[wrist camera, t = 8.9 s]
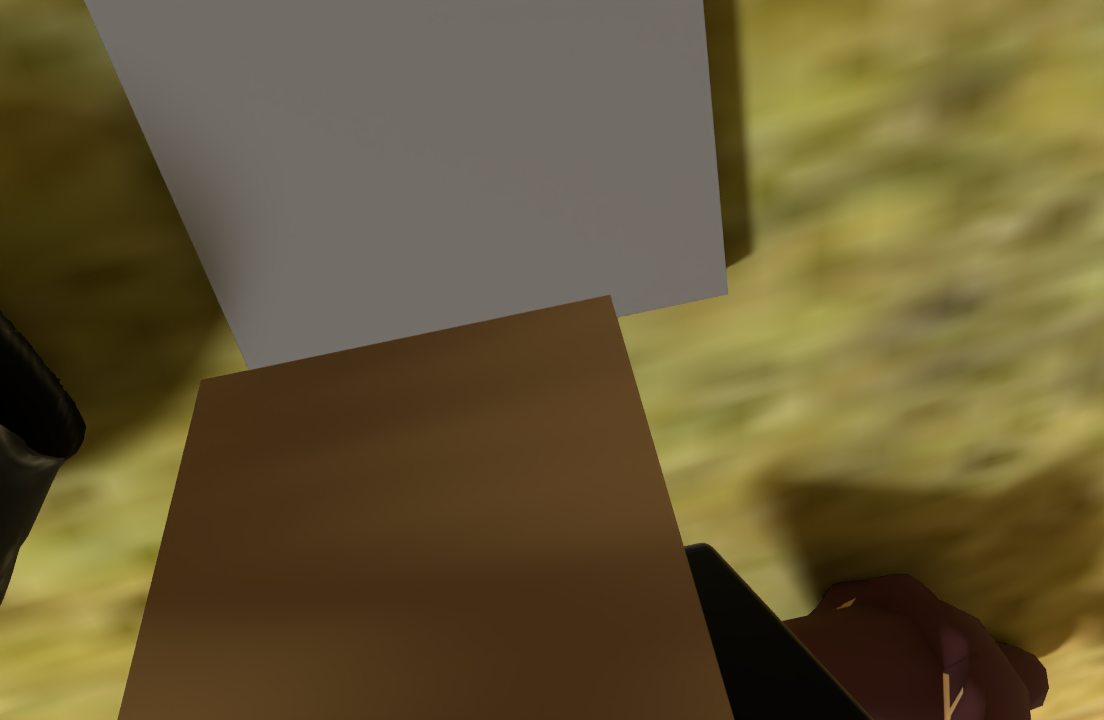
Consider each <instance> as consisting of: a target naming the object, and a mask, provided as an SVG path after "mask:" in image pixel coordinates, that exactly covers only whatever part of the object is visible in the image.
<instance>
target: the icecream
mask: <svg viewBox="0 0 1104 720" xmlns="http://www.w3.org/2000/svg"><path fill="white" fill-rule="evenodd" d="M782 622H783V623H784V624H785V625H786V626H787V627H788V628H789V630H790V631H791V632H792V633H793V634H794V635H795V636H796V637H797V638H798V639H799V640H800V641H801V642H802V644H803V645H804V646H805V647H806V648H807V649H808V650H809V651H810V652H811V653H812V654H813V655H814V656H815V657H816V659H817V660H818V661H819V662H820V663H821V664H822V665H823V666H824V667H825V668H826V669H827V670H828V671H829V673H830V674H831V675H832V676H833V677H834V678H835V679H836V680H837V681H838V682H839V683H840V684H841V685H842V686H843V688H844V689H845V690H846V691H847V692H848V693H849V694H850V695H851V696H852V697H853V698H854V699H855V700H856V702H857V703H858V704H859V705H860V706H861V707H862V708H863V709H864V710H865V711H866V712H867V713H868V714H869V715H870V717H871V718H872V719H873V720H1031V715H1030V710H1032V709H1035V708H1037V707H1040V706H1043V703H1044V700H1045V697H1046V695H1047V692H1048V689H1049V685H1048V679H1047V673H1046V669H1045V667H1044V666H1043V665H1042V664H1041V662H1040V661H1039V660H1038V659H1037V657H1036V656H1035V655H1034V654H1031V653H1029V652H1027V651H1024V650H1022V649H1019V648H1017V647H1014V646H1011V645H1007V644H1004V643H1000V642H997V641H996V642H995V641H994V640H993V638H992V637H991V635H990V634H989V633H988V631H987V630H986V629H985V627H984V626H983V624H982V623H981V622H980V620H979V619H978V618H976V617H974V616H972V615H970V614H968V613H966V612H964V611H962V610H960V609H958V608H956V607H954V606H951V605H949V604H947V603H945V602H943V601H941V600H939V599H938V598H937V597H936V596H935V595H934V594H933V593H932V592H931V591H930V590H929V589H928V588H927V587H926V586H925V585H924V584H923V583H921V582H920V581H918V580H916V579H915V578H913V577H911V576H910V575H908V574H891V575H886V576H882V577H877V578H872V579H867V580H860V581H851V582H843V583H836V584H833V585H832V586H831V587H830V589H829V590H828V592H827V593H826V595H825V596H824V597H823V599H822V600H821V601H820V603H819V604H818V606H817V607H816V608H815V609H814V610H813V611H812V612H811V613H810V615H808V616H803V617H799V618H794V619H790V620H785V621H782Z"/></svg>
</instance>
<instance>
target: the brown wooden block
mask: <svg viewBox="0 0 1104 720" xmlns="http://www.w3.org/2000/svg"><path fill="white" fill-rule="evenodd" d="M118 720H734V717H733V714H732V710H731V707H730V703H729V700H728V697H727V693H726V690H725V686H724V683H723V679H722V676H721V673H720V669H719V666H718V662H717V659H716V655H715V652H714V649H713V645H712V642H711V638H710V635H709V631H708V628H707V625H706V621H705V618H704V614H703V611H702V607H701V604H700V601H699V597H698V594H697V590H696V587H695V583H694V580H693V577H692V573H691V570H690V566H689V563H688V559H687V556H686V553H685V549H684V546H683V542H682V539H681V535H680V532H679V529H678V525H677V522H676V518H675V515H674V511H673V508H672V505H671V501H670V498H669V494H668V491H667V487H666V484H665V481H664V477H663V474H662V470H661V467H660V463H659V460H658V457H657V453H656V450H655V446H654V443H653V439H652V436H651V433H650V429H649V426H648V422H647V419H646V415H645V412H644V409H643V405H642V402H641V398H640V395H639V391H638V388H637V385H636V381H635V378H634V374H633V371H632V367H631V364H630V361H629V357H628V354H627V350H626V347H625V343H624V340H623V337H622V333H621V330H620V326H619V323H618V319H617V316H616V313H615V309H614V306H613V302H612V299H611V295H606V296H601V297H596V298H591V299H587V300H582V301H577V302H572V303H567V304H563V305H558V306H553V307H548V308H544V309H539V310H534V311H529V312H524V313H520V314H515V315H510V316H505V317H501V318H496V319H491V320H486V321H481V322H477V323H472V324H467V325H462V326H458V327H453V328H448V329H443V330H438V331H434V332H429V333H424V334H419V335H415V336H410V337H405V338H400V339H395V340H391V341H386V342H381V343H376V344H372V345H367V346H362V347H357V348H352V349H348V350H343V351H338V352H333V353H328V354H324V355H319V356H314V357H309V358H305V359H300V360H295V361H290V362H285V363H281V364H276V365H271V366H266V367H262V368H257V369H252V370H247V371H242V372H238V373H233V374H228V375H223V376H219V377H214V378H209V379H204V380H201V383H200V387H199V391H198V395H197V399H196V403H195V407H194V412H193V416H192V420H191V424H190V428H189V432H188V436H187V440H186V444H185V448H184V452H183V456H182V460H181V464H180V468H179V472H178V476H177V481H176V485H175V489H174V493H173V497H172V501H171V505H170V509H169V513H168V517H167V521H166V525H165V529H164V533H163V537H162V541H161V545H160V550H159V554H158V558H157V562H156V566H155V570H154V574H153V578H152V582H151V586H150V590H149V594H148V598H147V602H146V606H145V610H144V614H143V619H142V623H141V627H140V631H139V635H138V639H137V643H136V647H135V651H134V655H133V659H132V663H131V667H130V671H129V675H128V679H127V683H126V688H125V692H124V696H123V700H122V704H121V708H120V712H119V716H118Z"/></svg>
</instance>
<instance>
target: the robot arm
mask: <svg viewBox="0 0 1104 720" xmlns="http://www.w3.org/2000/svg"><path fill="white" fill-rule="evenodd" d="M684 549H685V553H686V556H687V559H688V563H689V566H690V570H691V573H692V577H693V580H694V583H695V587H696V590H697V594H698V597H699V601H700V604H701V607H702V611H703V614H704V618H705V621H706V625H707V628H708V631H709V635H710V638H711V642H712V645H713V649H714V652H715V655H716V659H717V662H718V666H719V669H720V673H721V676H722V679H723V683H724V686H725V690H726V693H727V697H728V700H729V703H730V707H731V710H732V714H733V717H734V720H873V719H872V718H871V717H870V715H869V714H868V713H867V712H866V711H865V710H864V709H863V708H862V707H861V706H860V705H859V704H858V703H857V702H856V700H855V699H854V698H853V697H852V696H851V695H850V694H849V693H848V692H847V691H846V690H845V689H844V688H843V686H842V685H841V684H840V683H839V682H838V681H837V680H836V679H835V678H834V677H833V676H832V675H831V674H830V673H829V671H828V670H827V669H826V668H825V667H824V666H823V665H822V664H821V663H820V662H819V661H818V660H817V659H816V657H815V656H814V655H813V654H812V653H811V652H810V651H809V650H808V649H807V648H806V647H805V646H804V645H803V644H802V642H801V641H800V640H799V639H798V638H797V637H796V636H795V635H794V634H793V633H792V632H791V631H790V630H789V628H788V627H787V626H786V625H785V624H784V623H783V622H782V621H781V620H780V619H779V618H778V617H777V616H776V615H775V613H774V612H773V611H772V610H771V609H770V608H769V607H768V606H767V605H766V604H765V603H764V602H763V601H762V600H761V598H760V597H759V596H758V595H757V594H756V593H755V592H754V591H753V590H752V589H751V588H750V587H749V586H748V584H747V583H746V582H745V581H744V580H743V579H742V578H741V577H740V576H739V575H738V574H737V573H736V572H735V571H734V569H733V568H732V567H731V566H730V565H729V564H728V563H727V562H726V561H725V560H724V559H723V558H722V557H721V555H720V554H719V553H718V552H717V551H716V550H715V549H714V548H713V547H711V546H710V545H709V544H706V543H698V544H693V545H688V546H684Z"/></svg>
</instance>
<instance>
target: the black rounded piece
mask: <svg viewBox="0 0 1104 720" xmlns="http://www.w3.org/2000/svg"><path fill="white" fill-rule="evenodd" d="M12 330H15V327H14V325H13V324H12V323H11V322H10V321H9V320H7V319H6V317H5V316H4V315H3V314H2V312H1V311H0V605H1V603H2V601H3V599H4V596H5V593H6V590H7V588H8V585H9V582H10V579H11V576H12V573H13V569H14V566H15V562H16V559H17V555H18V552H19V549H20V547H21V545H22V544H23V543H24V541H25V540H26V538H27V537H28V535H29V533H30V531H31V529H32V526H33V524H34V522H35V520H36V518H37V516H38V513H39V511H40V509H41V507H42V504H43V502H44V500H45V498H46V495H47V493H48V491H49V489H50V486H51V484H52V482H53V480H54V478H55V476H56V474H57V472H58V470H59V468H60V467H61V466H62V465H63V463H64V462H65V461H66V460H67V459H69V458H70V457H72V456H73V455H74V454H76V452H77V451H78V449H79V448H80V446H81V444H82V442H83V440H84V434H85V429H86V425H85V422H84V420H83V418H82V416H81V414H80V412H79V410H78V409H77V407H76V404H75V402H74V401H73V400H72V398H71V397H70V396H69V395H68V393H67V392H66V391H65V390H63V386H62V385H61V384H60V382H59V380H60V379H57V378H56V376H55V374H54V373H52V372H51V371H50V370H49V368H48V367H47V366H46V365H45V363H44V362H43V361H42V359H41V358H40V357H39V355H38V354H37V353H36V352H35V350H34V349H33V347H32V346H31V345H30V343H29V342H28V341H27V340H26V339H25V338H24V337H23V335H22V334H21V333H19V332H15V331H12Z"/></svg>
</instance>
